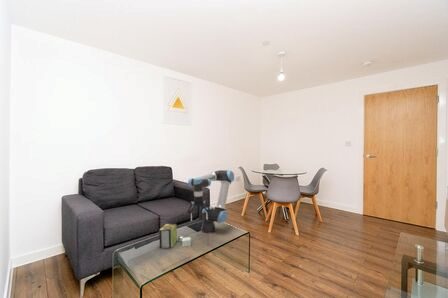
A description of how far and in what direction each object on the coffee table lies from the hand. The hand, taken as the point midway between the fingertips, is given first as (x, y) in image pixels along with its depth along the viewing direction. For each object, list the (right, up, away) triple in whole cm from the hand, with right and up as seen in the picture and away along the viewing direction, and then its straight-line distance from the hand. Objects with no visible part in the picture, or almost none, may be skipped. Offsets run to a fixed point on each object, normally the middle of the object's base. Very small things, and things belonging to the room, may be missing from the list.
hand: (199, 220), depth 181 cm
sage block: (-11, -22, 0) cm, 24 cm away
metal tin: (-17, -22, +8) cm, 29 cm away
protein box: (-28, -22, +2) cm, 36 cm away
